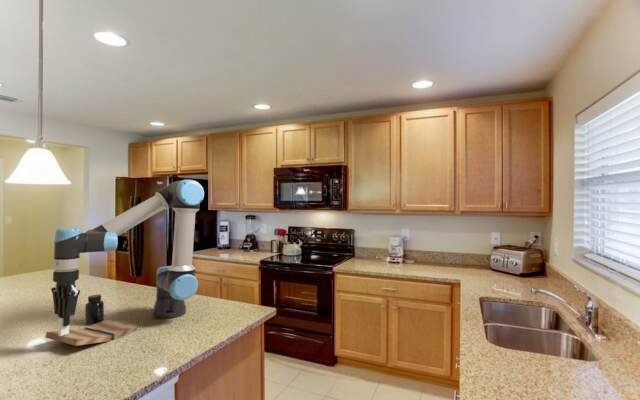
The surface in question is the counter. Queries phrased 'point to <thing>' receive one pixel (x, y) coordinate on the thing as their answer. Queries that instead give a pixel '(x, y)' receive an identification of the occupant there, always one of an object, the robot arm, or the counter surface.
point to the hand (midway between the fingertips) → (63, 334)
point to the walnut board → (112, 328)
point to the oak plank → (79, 337)
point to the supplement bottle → (94, 310)
